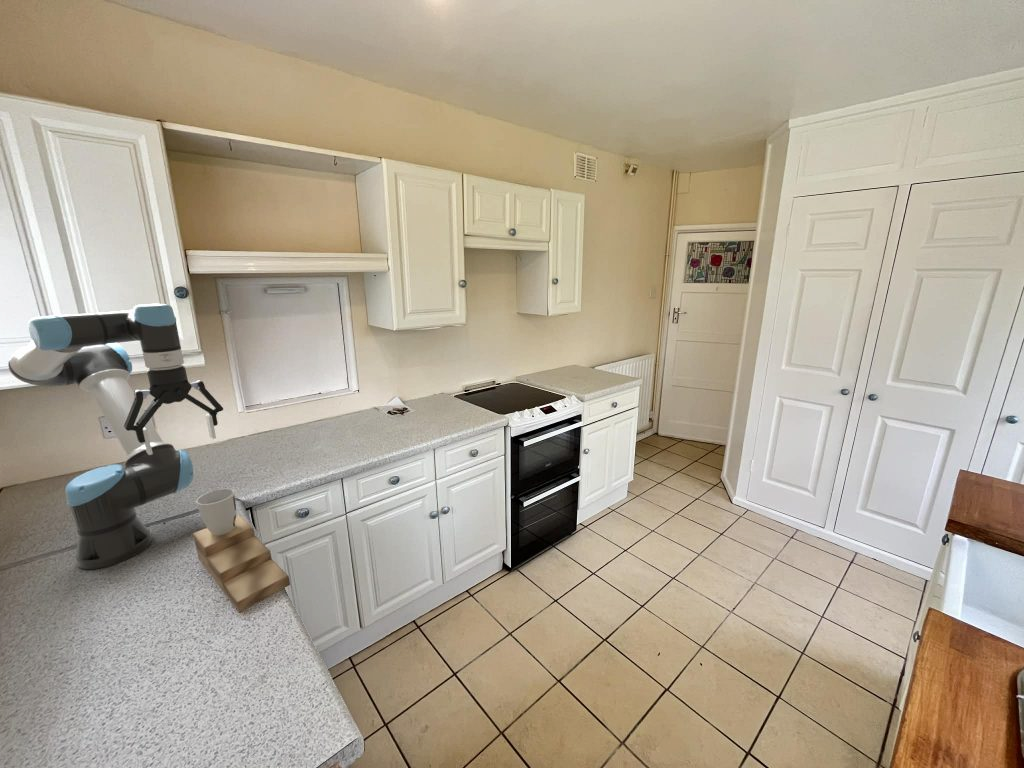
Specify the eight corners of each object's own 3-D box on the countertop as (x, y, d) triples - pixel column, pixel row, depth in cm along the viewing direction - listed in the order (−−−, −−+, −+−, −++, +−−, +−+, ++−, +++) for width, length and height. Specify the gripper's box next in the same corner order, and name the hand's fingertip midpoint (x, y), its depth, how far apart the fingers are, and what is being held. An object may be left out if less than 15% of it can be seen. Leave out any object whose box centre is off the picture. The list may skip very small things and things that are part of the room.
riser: (239, 612, 92) (232, 583, 90) (198, 558, 111) (192, 533, 109) (290, 584, 100) (285, 557, 99) (244, 538, 119) (239, 514, 117)
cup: (245, 528, 111) (238, 494, 108) (209, 543, 105) (201, 508, 102) (234, 518, 116) (227, 485, 113) (200, 531, 110) (192, 497, 107)
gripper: (99, 378, 93) (122, 465, 98) (228, 361, 111) (240, 434, 117) (94, 373, 97) (116, 456, 103) (218, 357, 116) (231, 428, 121)
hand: (182, 445), depth 110 cm, fingers open, 13 cm apart
